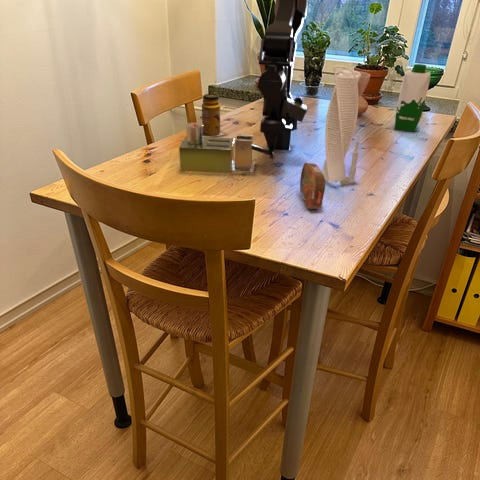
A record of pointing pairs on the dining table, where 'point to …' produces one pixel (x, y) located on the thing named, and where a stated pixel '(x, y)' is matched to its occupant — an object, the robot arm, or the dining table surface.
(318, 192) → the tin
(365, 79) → the ceramic jug
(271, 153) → the toaster lever
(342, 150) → the skyscraper
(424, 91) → the milk carton
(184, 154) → the toaster
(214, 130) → the condiment
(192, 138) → the translucent cup
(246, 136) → the lever bracket
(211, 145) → the toaster slots
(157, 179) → the dining table surface
